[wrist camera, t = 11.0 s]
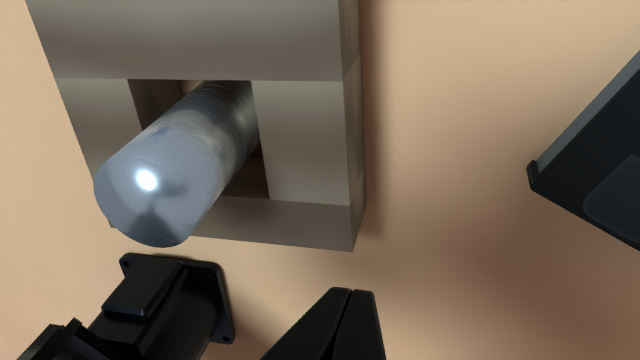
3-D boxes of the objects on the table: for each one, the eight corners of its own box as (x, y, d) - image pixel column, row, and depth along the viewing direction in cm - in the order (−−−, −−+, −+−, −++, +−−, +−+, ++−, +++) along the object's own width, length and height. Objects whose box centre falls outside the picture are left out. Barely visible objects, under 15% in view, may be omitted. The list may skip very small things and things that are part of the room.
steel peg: (278, 142, 23) (204, 252, 16) (208, 140, 24) (113, 242, 17) (267, 68, 21) (179, 159, 15) (192, 69, 22) (78, 154, 15)
